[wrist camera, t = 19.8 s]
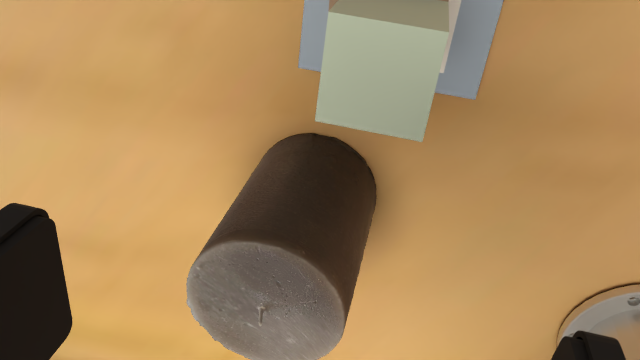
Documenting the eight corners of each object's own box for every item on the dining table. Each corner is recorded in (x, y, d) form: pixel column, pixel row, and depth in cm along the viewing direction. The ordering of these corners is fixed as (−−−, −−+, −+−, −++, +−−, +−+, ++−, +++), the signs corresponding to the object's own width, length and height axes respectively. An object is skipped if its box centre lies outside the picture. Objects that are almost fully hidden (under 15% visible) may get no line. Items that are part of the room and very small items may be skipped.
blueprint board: (520, -68, 31) (522, -66, 30) (474, 94, 36) (475, 100, 35) (317, -97, 32) (313, -96, 31) (301, 63, 37) (297, 68, 36)
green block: (448, 1, 26) (449, 32, 21) (426, 95, 29) (422, 142, 24) (350, -15, 27) (328, 11, 22) (337, 78, 30) (315, 121, 25)
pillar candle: (349, 116, 38) (297, 237, 26) (394, 225, 42) (368, 377, 29) (236, 152, 42) (141, 273, 29) (287, 249, 46) (222, 394, 33)
